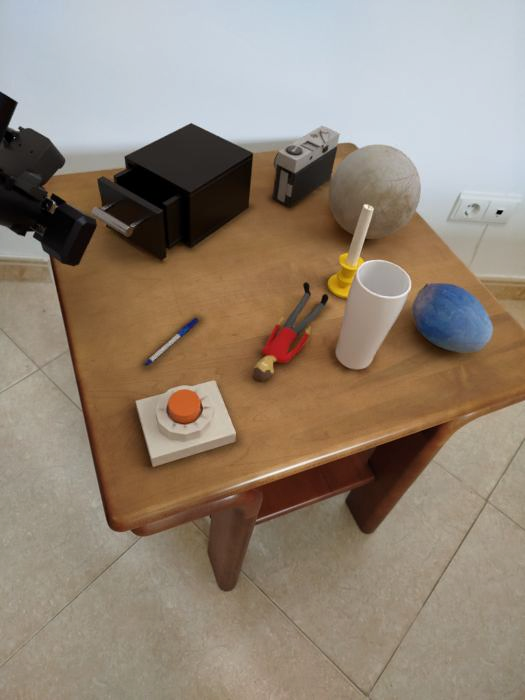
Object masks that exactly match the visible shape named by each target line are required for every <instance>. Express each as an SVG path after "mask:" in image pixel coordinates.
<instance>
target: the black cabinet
mask: <svg viewBox="0 0 525 700" xmlns="http://www.w3.org/2000/svg"><path fill="white" fill-rule="evenodd" d="M253 161H254V152H252V151H250V150H248V149H246V148H244V147H242V146H240V145H238V144H235V143H234V142H232V141H229V140H228V139H225V138H223V137H222V136H219V135H217V134H215V133H213V132H211V131H210V130H206V129H204V128H203V127H201V126H198V125H197V124H194V123H192V122H190V123H189V124H186V125H184V126H182V127H180V128H178V129H176V130H174V131H172V132H170V133H168V134H166V135H164V136H162V137H160V138H158V139H156V140H154V141H152V142H150V143H148V144H146V145H144V146H141V147H140V148H138V149H136V150H133V151H132V152H130V153H128V154H126V155H124V166H125V169H126V168H128V167H130V166H132V165H133V166H135V167H137V168H139V169H141V170H143V171H144V172H146V173H148V174H150V175H152V176H154V177H155V178H157V179H159V180H161V181H163V182H165V183H166V184H168V185H170V186H172V187H174V188H176V189H177V190H179V191H181V192H183V193H185V194H186V210H187V238H186V239H184V240H183V241H181V242H180V243H181V244H183V245H185V246H187V247H188V248H190V249H192V248H194V247H196V246H197V245H199V243H201V242H202V241H204V240H205V239H207V238H208V237H209V236H210V235H211V236H212V234H213V233H215V232H217V230H219V229H221V228H223V226H225V225H227V223H229V222H230V221H232V220H233V219H234V218H236V217H237V216H240V214H241V213H243V212H244V211H246V210H248V209H249V208H250V198H251V197H250V196H251V185H252V173H253V163H254V162H253Z"/></svg>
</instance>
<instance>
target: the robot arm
mask: <svg viewBox="0 0 525 700" xmlns="http://www.w3.org/2000/svg"><path fill="white" fill-rule="evenodd" d="M18 105H19V102H18V101H17V100H15V99H14V98H12V97H11V96H9V95H8V94H6V93H4V92H2V91H0V226H2V227H4V228H7V229H8V230H10V231H12V232H13V233H15V234H16V235H17V236H21V237H24V238H25V237H26V235H27V233H32V232H33V234H32V238H33V239H35V240H36V241H38V242H39V243H40V245H41V249H42V250H43V252H44V253H46V254H47V255H49V256H50V257H52V258H53V259H55V260H56V261H58V262H59V263H61V264H63V265H67V266H70V267H76V266H78V265H80V263H81V261H82V259H83V258H84V255H85V252H86V251H87V248H88V246H89V244H90V242H91V240H92V238H93V236H94V234H95V231H96V230H97V227H98V223H97V222H98V221H97V218H95V217H94V216H91V215H90V214H88V213H86V211H84V210H82V209H80V208H78V207H76V206H74V205H72V204H70V203H68V202H67V201H66V200H65V199H63V198H62V197H60V196H58V195H57V194H55V193H53V192H52V193H51V194H50V197H49V195H48V194H49V191H47V190H46V188H45V187H44V186H45V185H46V184H47V183H48V182H49V181H50V180H51V179H52V177H53V176H54V175H55V174H56V173H57V172H58V171H59V170H61V169H63V167H64V166H65V164H66V158H65V157H64V155H63V154H62V152H61V151H60V150H59V149H58V148H57V146H56V145H55V144H54V143H53V142H52V141H51V139H50V138H49V137H47V136H46V135H44V134H42V133H40V132H38V131H37V130H35V129H33V128H31V127H23V126H21V125H19V126H18V128H17V130H16V129H14V128H11V127H10V126H9V125H10V123H11V122H12V119H13V116H14V114H15V111H16V110H17V107H18Z"/></svg>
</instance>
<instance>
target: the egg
mask: <svg viewBox="0 0 525 700" xmlns="http://www.w3.org/2000/svg"><path fill="white" fill-rule="evenodd" d="M411 312H412V317H413V322H414V324H415V327H416V328H417V330H418V331H419V333H420V334H421V335H422V336H423V337H424V338H425V339H427V340H428V341H429V342H430V343H432V344H433V345H436V346H437V347H439V348H441V349H445V350H447V351H451V352H456V353H463V354H470V353H475V352H478V351H481V350H482V349H484V348H485V347H486V346H487V345H488V343H489V341H490V340H491V338H492V337H493V333H494V326H493V323H492V320H491V318H490V316H489V314H488V312H487V310H486V308H485V307H484V305H483V304H482V302H481V301H480V300H479V299H478V298H477V297H476V296H475V295H474V294H472V293H471V292H469V291H468V290H466V289H465V288H463V287H461V286H458V285H455V284H453V283H443V282H442V283H441V282H436V283H435V282H434V283H425V285H424V286H423V287H422V288H421V289H419V290H418V292H417V293H416V296H415V298H414V300H413V303H412V307H411Z"/></svg>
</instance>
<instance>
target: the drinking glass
mask: <svg viewBox="0 0 525 700" xmlns="http://www.w3.org/2000/svg"><path fill="white" fill-rule="evenodd" d="M411 289H412V280H411V277H410V275H409V274H408V272H407V271H405V269H403V268H402V267H400V266H399V265H397V264H396V263H393V262H391V261H389V260H383V259H371V260H368V261H364V263H363V264H361V265H360V266H359V267H358V269H357V270H356V273H355V276H354V278H353V281H352V284H351V287H350V290H349V293H348V297H347V298H346V302H345V307H344V312H343V317H342V321H341V327H340V331H339V335H338V341H337V343H336V346H335V357H336V358H337V361H338V362H339V363H340V364H341V365H342V366H344V367H346V368H347V369H351V370H355V371H356V370H363V369H366V368H368V367H369V366H370V365H371V364H372V362H373V360H374V358H375V356H376V355H377V352H378V350H379V349H380V347H381V346H382V344H383V343H384V342H385V339H386V337H387V336H388V334H389V332H390V331H391V329H392V328H393V326H394V324H395V323H396V321H397V319H398V318H399V316H400V314H401V312H402V310H403V308H404V306H405V304H406V302H407V299H408V297H409V294H410V291H411Z"/></svg>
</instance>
